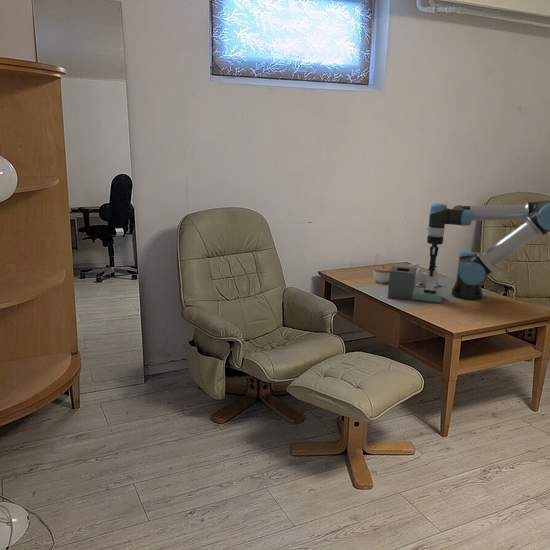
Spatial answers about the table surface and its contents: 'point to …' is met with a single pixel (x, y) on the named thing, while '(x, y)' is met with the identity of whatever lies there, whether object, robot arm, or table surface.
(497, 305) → the table surface
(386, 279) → the lidded jar
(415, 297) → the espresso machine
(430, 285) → the plug
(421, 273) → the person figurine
